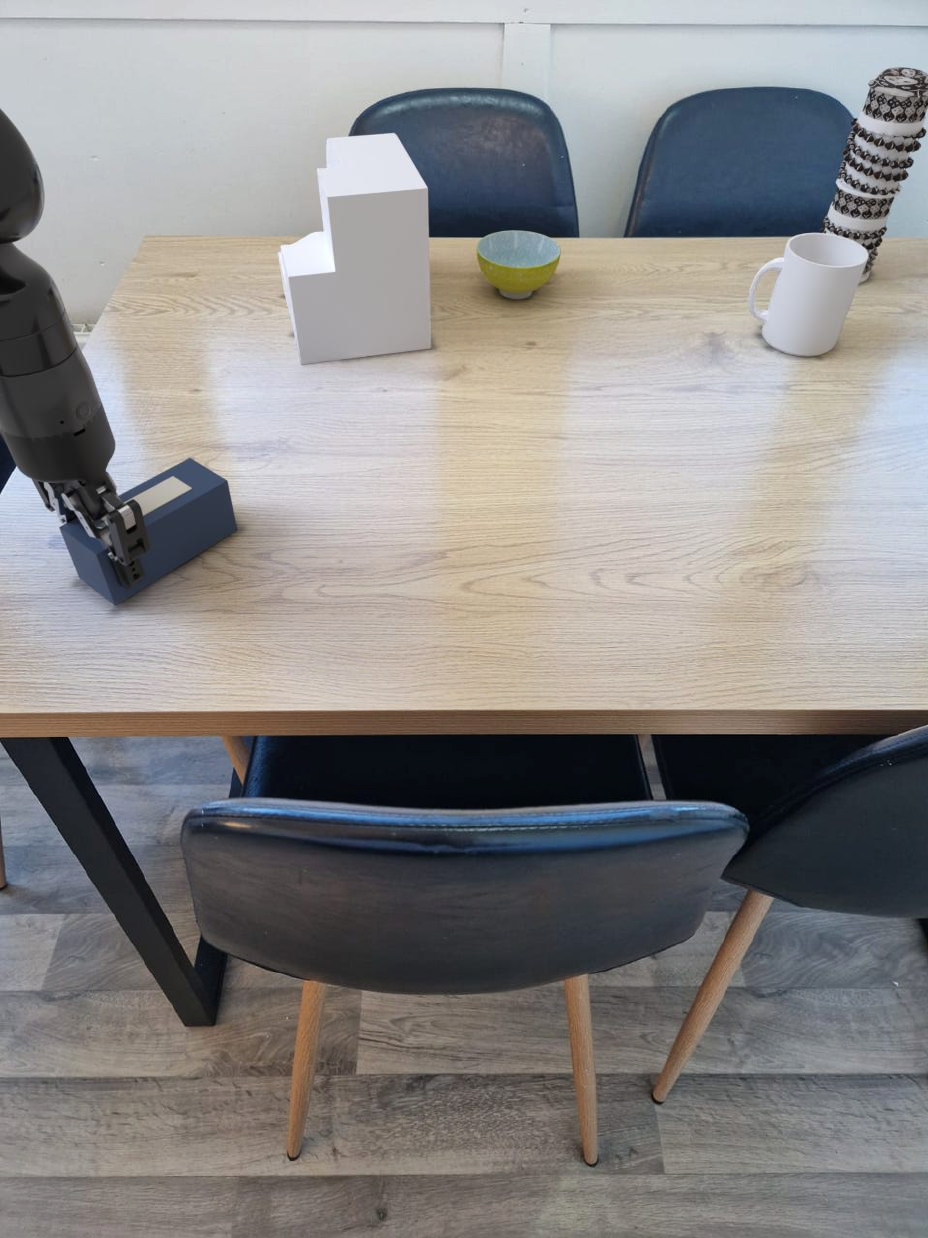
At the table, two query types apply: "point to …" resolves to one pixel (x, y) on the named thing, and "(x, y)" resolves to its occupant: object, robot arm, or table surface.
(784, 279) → the mug
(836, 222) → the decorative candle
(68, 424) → the robot arm
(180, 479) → the rectangular box
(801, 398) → the table surface
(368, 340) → the block
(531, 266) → the bowl
